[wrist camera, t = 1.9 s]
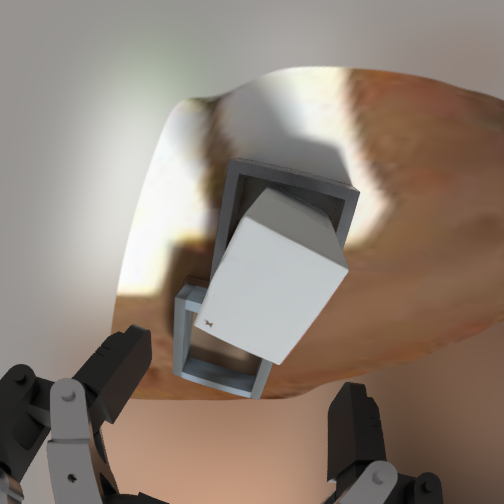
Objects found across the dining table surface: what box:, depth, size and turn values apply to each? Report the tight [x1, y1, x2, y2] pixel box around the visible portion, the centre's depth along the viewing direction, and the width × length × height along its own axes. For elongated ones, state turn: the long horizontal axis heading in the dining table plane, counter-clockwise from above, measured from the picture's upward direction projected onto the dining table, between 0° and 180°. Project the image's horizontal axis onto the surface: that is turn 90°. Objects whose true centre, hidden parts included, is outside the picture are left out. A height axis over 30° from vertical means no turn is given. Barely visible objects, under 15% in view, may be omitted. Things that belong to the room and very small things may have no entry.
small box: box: [194, 184, 349, 365], centre depth 21 cm, size 8×6×13 cm
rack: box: [173, 276, 273, 400], centre depth 31 cm, size 12×13×4 cm
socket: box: [209, 158, 360, 318], centre depth 25 cm, size 11×12×4 cm
